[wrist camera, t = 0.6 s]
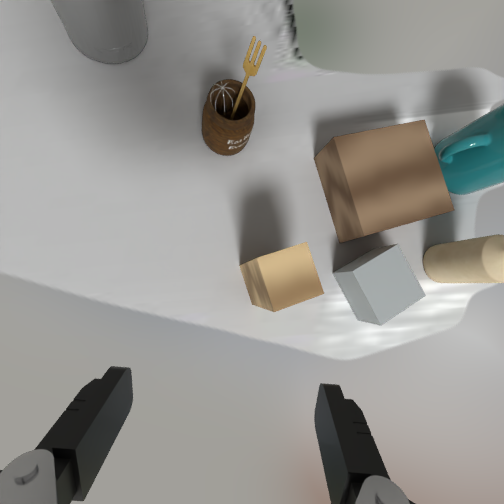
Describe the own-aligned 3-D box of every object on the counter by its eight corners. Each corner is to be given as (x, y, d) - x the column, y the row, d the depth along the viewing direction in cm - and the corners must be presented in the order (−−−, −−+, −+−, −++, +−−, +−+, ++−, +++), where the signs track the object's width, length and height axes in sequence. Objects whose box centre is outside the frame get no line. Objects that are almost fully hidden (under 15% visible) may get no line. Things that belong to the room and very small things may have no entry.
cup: (406, 139, 42) (481, 87, 31) (473, 138, 44) (564, 90, 33) (416, 198, 41) (497, 167, 30) (483, 194, 44) (580, 164, 33)
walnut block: (312, 159, 39) (333, 137, 33) (392, 142, 42) (424, 119, 36) (338, 243, 38) (364, 235, 32) (417, 220, 41) (454, 210, 35)
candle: (416, 271, 40) (489, 267, 30) (430, 237, 41) (504, 223, 31) (447, 290, 40) (528, 291, 31) (460, 256, 41) (541, 247, 32)
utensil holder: (191, 137, 36) (190, 65, 24) (221, 102, 37) (234, 18, 25) (229, 167, 36) (246, 110, 24) (257, 131, 37) (286, 62, 26)
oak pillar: (239, 265, 35) (256, 257, 25) (276, 253, 36) (306, 241, 26) (252, 304, 35) (274, 312, 25) (289, 291, 36) (324, 293, 26)
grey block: (331, 273, 37) (352, 271, 33) (372, 248, 39) (398, 243, 34) (357, 320, 37) (381, 325, 32) (396, 294, 39) (425, 295, 34)
